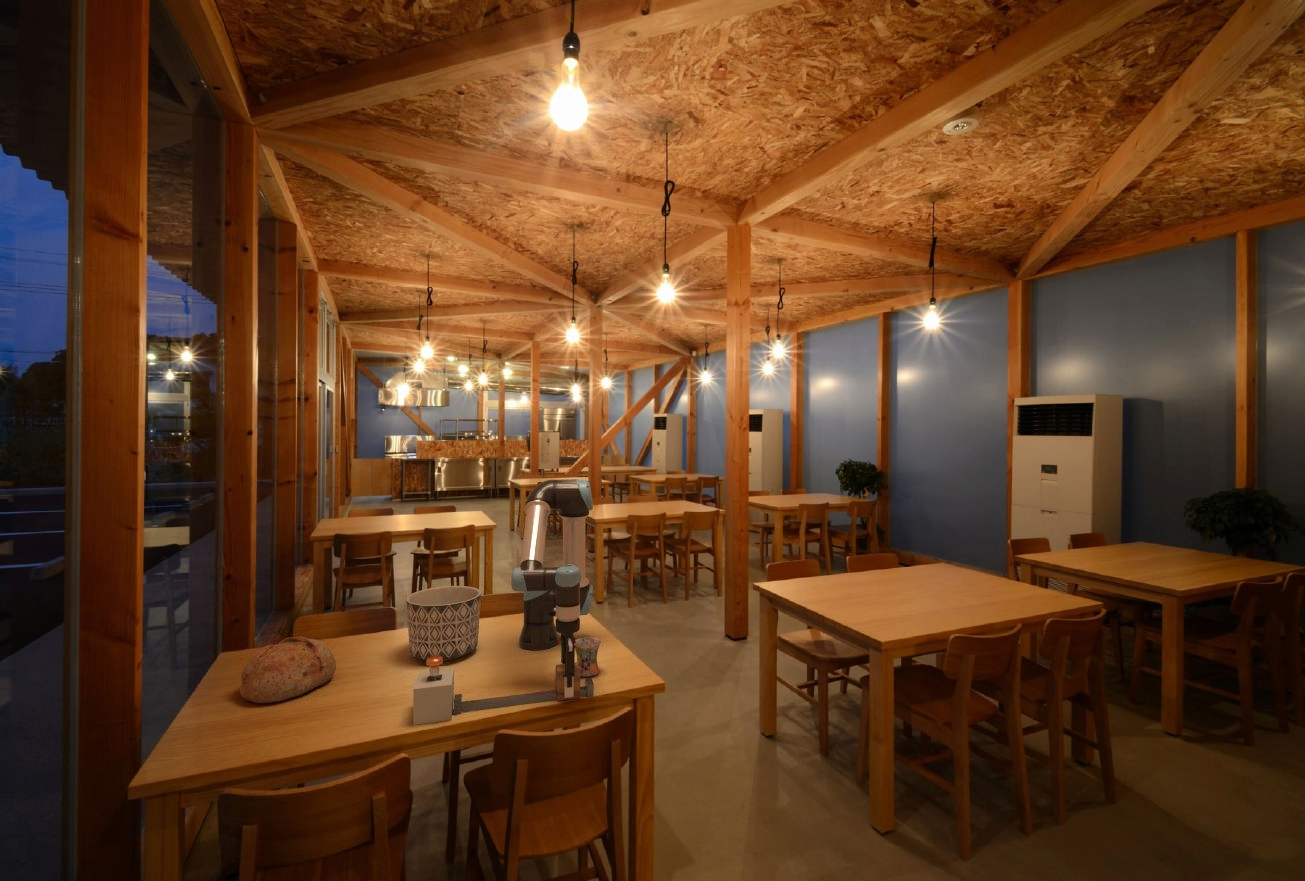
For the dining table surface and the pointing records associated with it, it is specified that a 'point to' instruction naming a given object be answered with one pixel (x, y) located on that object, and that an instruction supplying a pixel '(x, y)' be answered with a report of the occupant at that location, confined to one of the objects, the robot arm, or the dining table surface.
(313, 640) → the bread
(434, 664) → the push button
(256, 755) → the dining table surface
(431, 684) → the knob base
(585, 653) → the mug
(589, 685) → the rail
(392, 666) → the dining table surface
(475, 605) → the planter
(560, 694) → the block
